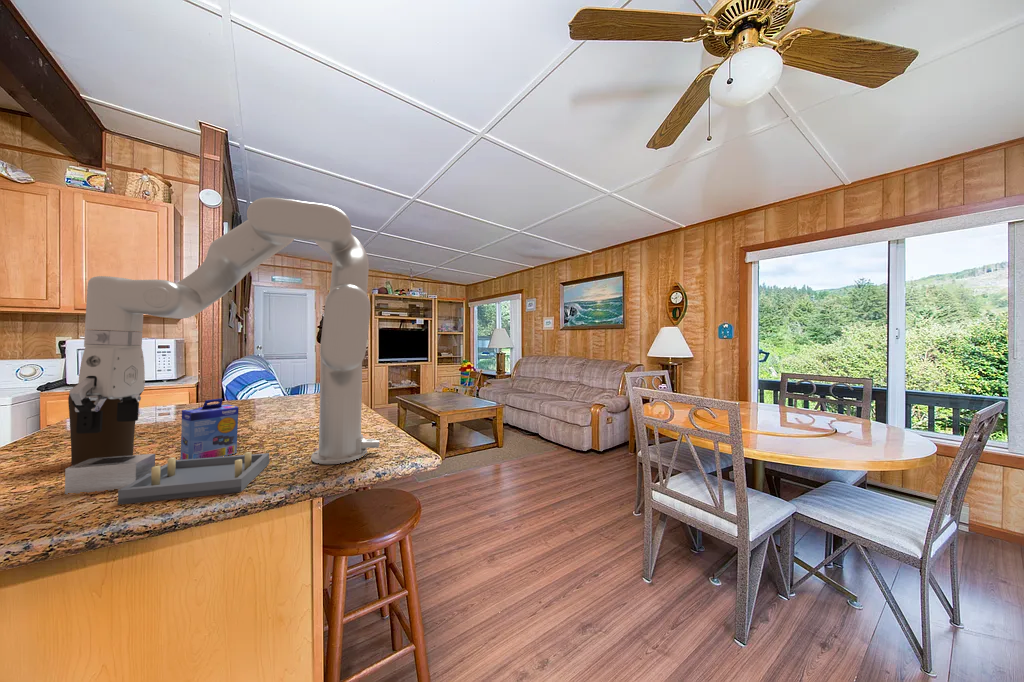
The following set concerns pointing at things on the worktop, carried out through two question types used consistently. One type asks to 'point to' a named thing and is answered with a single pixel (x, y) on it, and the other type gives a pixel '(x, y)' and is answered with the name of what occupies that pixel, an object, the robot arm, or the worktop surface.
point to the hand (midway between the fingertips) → (109, 426)
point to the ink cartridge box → (209, 431)
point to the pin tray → (195, 478)
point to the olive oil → (101, 435)
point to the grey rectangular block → (107, 473)
